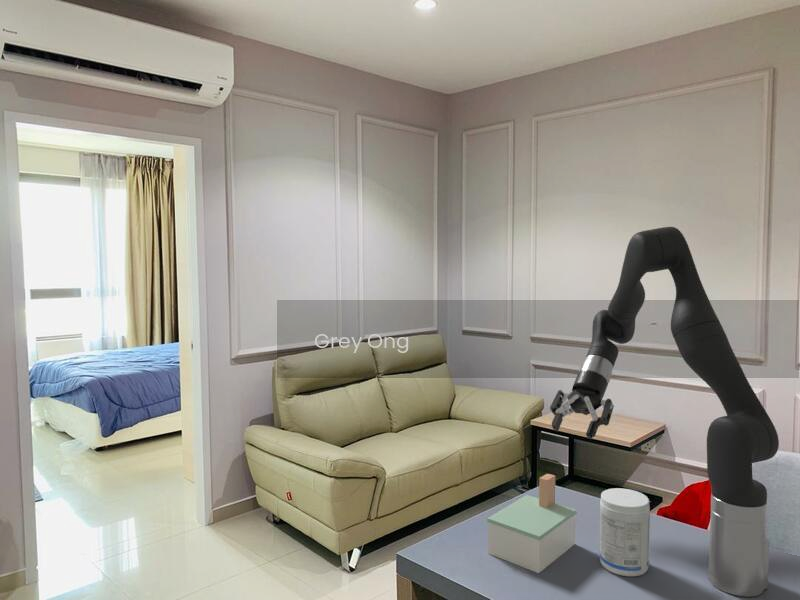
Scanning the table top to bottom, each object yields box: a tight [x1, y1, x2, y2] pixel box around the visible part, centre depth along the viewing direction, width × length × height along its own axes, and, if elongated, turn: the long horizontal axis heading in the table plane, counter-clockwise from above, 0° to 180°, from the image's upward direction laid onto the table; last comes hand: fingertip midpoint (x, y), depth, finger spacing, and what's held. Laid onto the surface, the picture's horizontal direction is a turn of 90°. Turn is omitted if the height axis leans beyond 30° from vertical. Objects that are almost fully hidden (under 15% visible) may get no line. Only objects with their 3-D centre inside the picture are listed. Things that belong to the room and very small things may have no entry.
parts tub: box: [488, 514, 576, 574], centre depth 129 cm, size 16×12×7 cm
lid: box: [486, 473, 578, 540], centre depth 128 cm, size 16×12×8 cm
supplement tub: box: [599, 487, 651, 577], centre depth 121 cm, size 10×10×15 cm
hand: (571, 433), depth 141 cm, fingers open, 8 cm apart
